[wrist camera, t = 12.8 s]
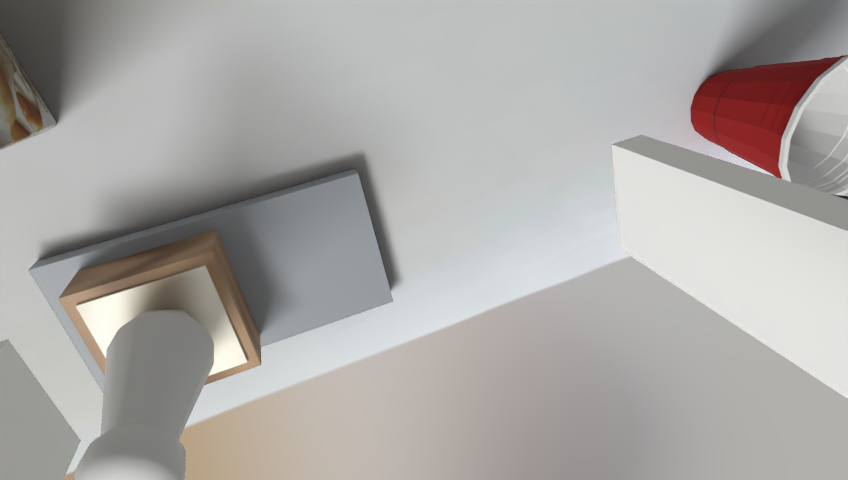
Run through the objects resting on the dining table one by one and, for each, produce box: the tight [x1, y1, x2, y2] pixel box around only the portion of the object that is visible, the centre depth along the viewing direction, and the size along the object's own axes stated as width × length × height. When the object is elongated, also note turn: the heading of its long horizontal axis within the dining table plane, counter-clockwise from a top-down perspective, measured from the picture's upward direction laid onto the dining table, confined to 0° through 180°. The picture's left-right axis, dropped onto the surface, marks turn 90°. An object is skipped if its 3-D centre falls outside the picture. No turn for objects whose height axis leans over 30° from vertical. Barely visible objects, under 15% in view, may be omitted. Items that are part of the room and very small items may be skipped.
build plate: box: [29, 168, 393, 394], centre depth 39 cm, size 22×11×2 cm, turn 103°
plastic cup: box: [691, 55, 848, 196], centre depth 41 cm, size 11×11×12 cm
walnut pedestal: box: [58, 230, 261, 385], centre depth 35 cm, size 9×9×4 cm
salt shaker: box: [74, 309, 214, 480], centre depth 28 cm, size 6×6×13 cm
